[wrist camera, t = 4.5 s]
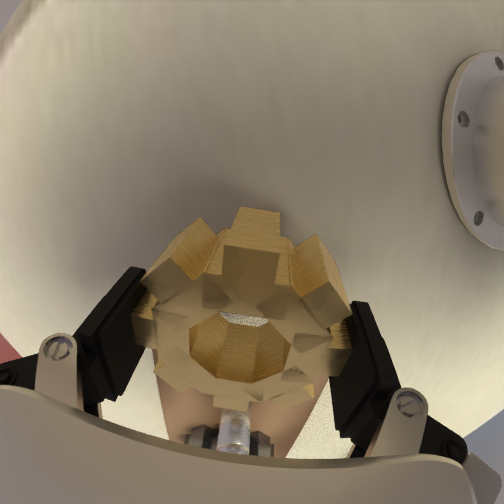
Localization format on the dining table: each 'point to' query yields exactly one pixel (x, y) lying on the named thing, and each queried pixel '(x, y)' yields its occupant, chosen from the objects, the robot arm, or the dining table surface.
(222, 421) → the peg
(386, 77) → the dining table surface
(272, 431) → the gear board
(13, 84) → the dining table surface
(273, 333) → the wooden gear
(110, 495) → the robot arm
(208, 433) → the gear
